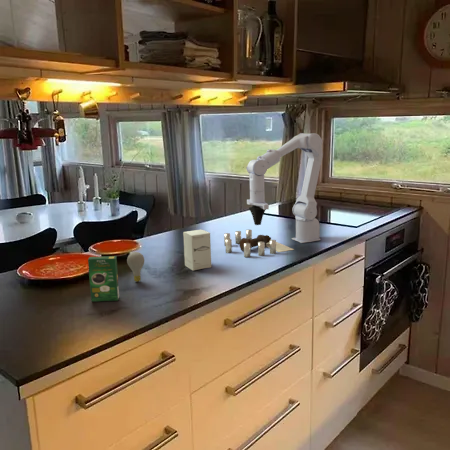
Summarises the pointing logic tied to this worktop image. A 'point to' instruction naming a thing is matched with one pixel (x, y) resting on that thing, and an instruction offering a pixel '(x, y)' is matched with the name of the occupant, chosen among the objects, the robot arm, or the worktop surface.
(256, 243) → the brown bone
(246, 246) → the spacers
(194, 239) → the supplement box
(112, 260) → the coffee box
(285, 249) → the mat
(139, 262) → the light bulb
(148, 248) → the worktop surface
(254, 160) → the robot arm
